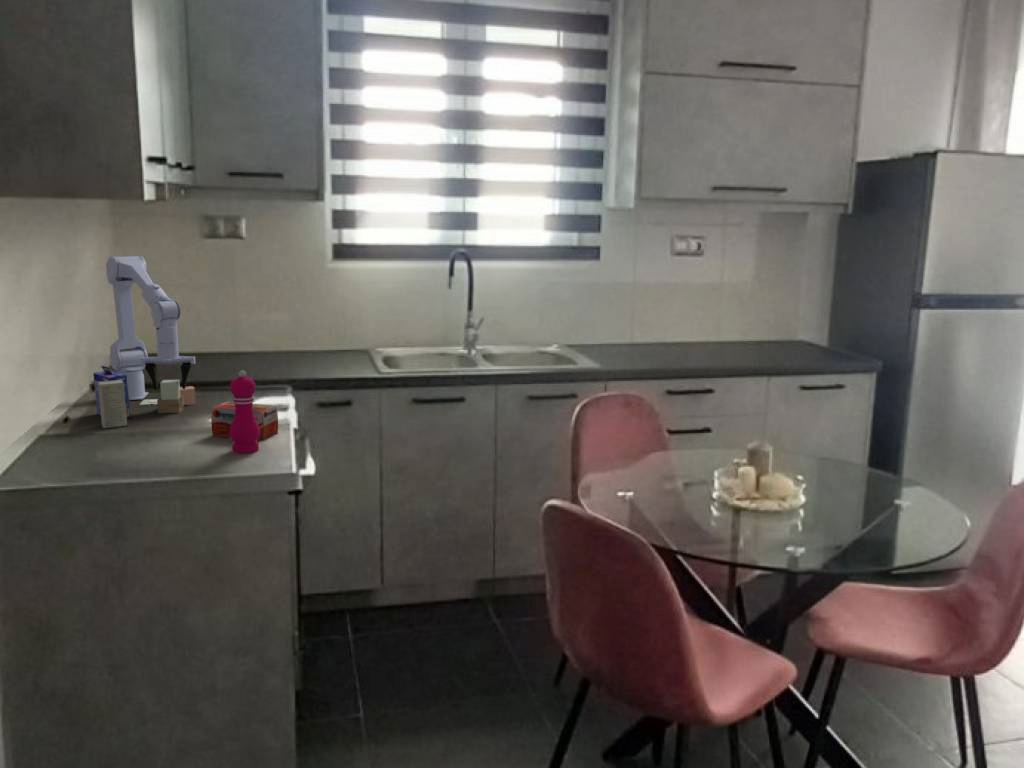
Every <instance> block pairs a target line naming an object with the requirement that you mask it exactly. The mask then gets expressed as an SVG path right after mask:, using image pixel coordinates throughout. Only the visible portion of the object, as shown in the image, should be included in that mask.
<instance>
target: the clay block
mask: <svg viewBox="0 0 1024 768" xmlns="http://www.w3.org/2000/svg"><path fill="white" fill-rule="evenodd" d="M180 396H184V405H186V406H196V403H197V402H196V401H197V400H196V388H195V387H194V386H192V385H191V386H190V385H189V386H186V388H185V389H182V386H180Z"/></svg>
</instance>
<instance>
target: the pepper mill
mask: <svg viewBox="0 0 1024 768" xmlns="http://www.w3.org/2000/svg"><path fill="white" fill-rule="evenodd" d="M256 389H257V386H256V382H255V381H254V379H252V378H251V377H249V376H247V372H246V371H245V370H244V369H243V370H240V371H239V372H238V377H235V378H234V379H233V380H231V382H230V385H229V391H230V392H231V394H232V395H233V397H232V399H233V400H232V402H233V403H235V415H234V419H233V421H232V424H231V427H230V434H229V435H230V439H231V440H232V441H233V443H232V444H231V447H232V450H231V451H232V453H236V454H241V453H245V454H250V453H249V452H253V453H255V452H254V451H256V452H258V451H259V449H260V446H259V445H260V444H259V442H258V440H257V439H258V438H259V436H260V428H259V425H258V423H257V421H256V419H255V417H254V414H253V408H252V404H254V402H255V400H254V399H255V396H254V394H255V393H256ZM257 450H258V451H257Z"/></svg>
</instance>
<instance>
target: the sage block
mask: <svg viewBox="0 0 1024 768" xmlns="http://www.w3.org/2000/svg"><path fill="white" fill-rule="evenodd" d="M180 384H181V383H180V379H163V380H162V381H160V383H159V386H160V388H159V389H160V398H161V400H178V399H179V397H180V387H181V386H180Z"/></svg>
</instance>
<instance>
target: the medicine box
mask: <svg viewBox="0 0 1024 768" xmlns="http://www.w3.org/2000/svg"><path fill="white" fill-rule="evenodd" d="M252 408H253V414H254V417H255V419H256V421H257V423H258V425H259V428H260V436H259V438H258V439H257V440H256V441H265V440H267V439H268V438H269V437H272V436H271V435H273V434H275V435H276V433H277V434H279V413H278V407H277V405H275V404H261V403H253V404H252ZM210 415H211V416H210V417H211V419H210V421H211V433H212V436H213V437H218V438H228V437H229V438H230V435H229V434H230V427H231V424H232V421H233V419H234V415H235V403H233V401H226V402H222V403H220V404H217V405H214V406H212V407H211V414H210ZM273 436H274V435H273ZM267 437H268V438H267ZM230 439H231V438H230Z"/></svg>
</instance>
